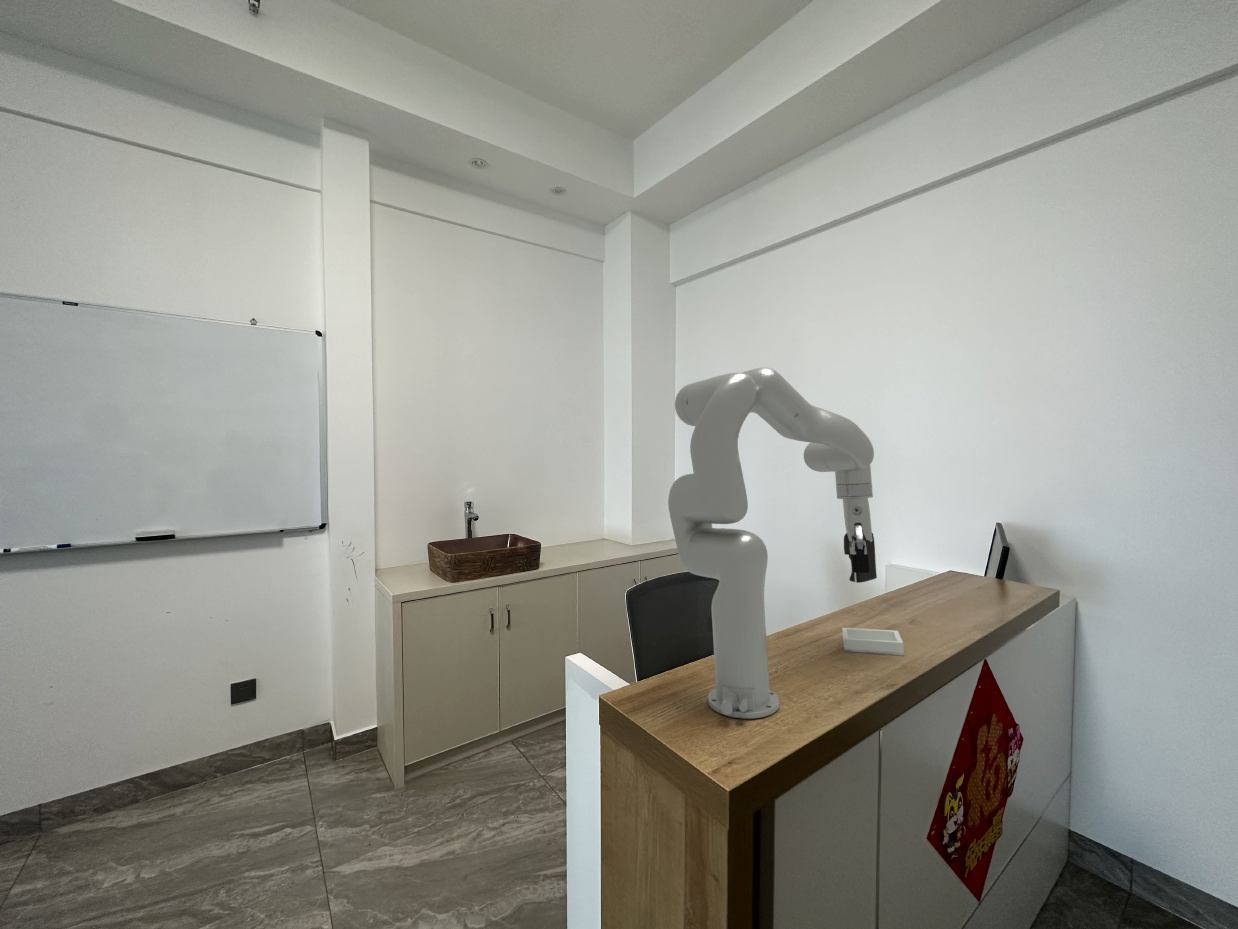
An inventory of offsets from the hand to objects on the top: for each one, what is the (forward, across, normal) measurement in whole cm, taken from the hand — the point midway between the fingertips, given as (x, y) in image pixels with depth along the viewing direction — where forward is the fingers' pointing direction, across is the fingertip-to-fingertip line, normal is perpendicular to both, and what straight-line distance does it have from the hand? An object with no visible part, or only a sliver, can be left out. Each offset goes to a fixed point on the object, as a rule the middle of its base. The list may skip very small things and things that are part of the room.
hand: (860, 568), depth 117 cm
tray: (+19, +2, -1) cm, 19 cm away
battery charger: (+3, 0, 0) cm, 3 cm away
